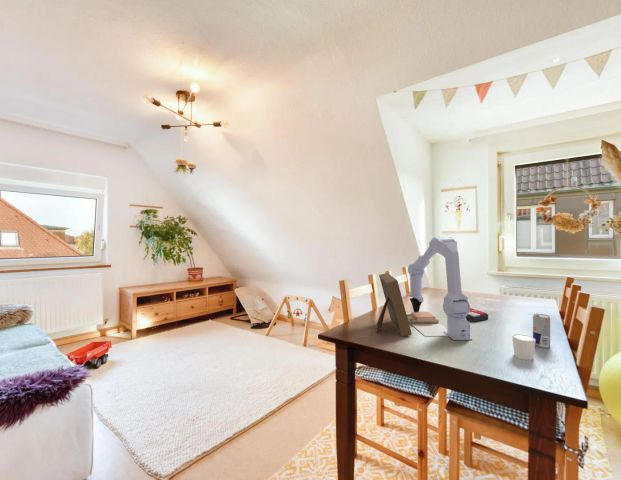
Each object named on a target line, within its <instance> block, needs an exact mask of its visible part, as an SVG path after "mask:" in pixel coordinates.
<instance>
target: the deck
mask: <svg viewBox="0 0 621 480" xmlns="http://www.w3.org/2000/svg"><path fill="white" fill-rule="evenodd" d="M411 312H412V311H406V314H407V318H408V322H409V324H411V325H412V324H440V323H439V321H440V319H438V318H436V317H435V321H416V320H415V319H414V318H413V317H411Z"/></svg>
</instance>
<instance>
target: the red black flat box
mask: <svg viewBox="0 0 621 480" xmlns="http://www.w3.org/2000/svg"><path fill="white" fill-rule="evenodd" d="M466 320H467V321H468V322H471V323H479V322H482V321H487V320H489V314H488V313H487V312H484V311H481V310H478V309H474V308H472V307H470V311H469V313H467V316H466Z"/></svg>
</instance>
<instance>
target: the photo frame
mask: <svg viewBox="0 0 621 480" xmlns="http://www.w3.org/2000/svg"><path fill="white" fill-rule="evenodd" d="M378 276H379V280H380V283H381V287H382V292H383V294H384V299H385V302H384V305H383V307H382V309H381V311H380V314H379V317H378V320H377V321H376V327H375V328H376V329H375V333H376V334H377V333H378V332H380V331H381V330H382V325H383V321H384V318H385V314H386V311H388V313H389V318H390V321H391V323H392V324H393V326H394V327H395V329H396V330H397V332H398V333H399V335H400V336H401V337H402V338H403V337H407V336H412V335H413V334H412V331H411V326H410V322H409V321H408V318H407V314H406V312H407V311H406V307H405V304H404V300H403V295H402V292H401V289H400V288H401V287H400V285H399V281H398V280H397V279H396V277H394V276H392V275H391V274H389V273H388V272H386V273H385V272H384V273H382V274H378ZM387 309H388V310H387Z"/></svg>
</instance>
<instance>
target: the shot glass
mask: <svg viewBox="0 0 621 480" xmlns="http://www.w3.org/2000/svg"><path fill="white" fill-rule="evenodd" d="M511 336H512V339H511V340H512V346H513V356H515V358H517V359H521V360H525V361H533V359H534V356H535V347H536V346H535V341H536V340H535V339H534V338H533V336H529V335H526V334H512V335H511Z"/></svg>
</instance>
